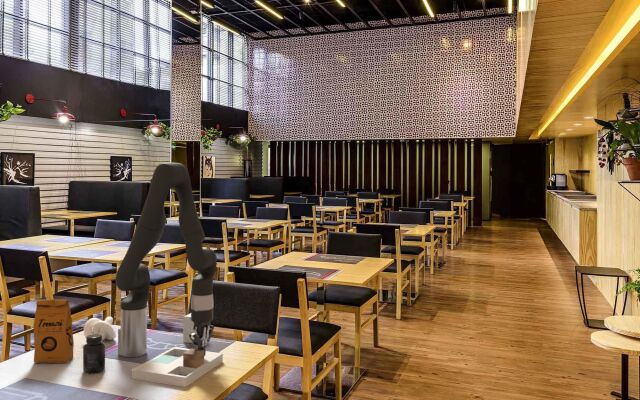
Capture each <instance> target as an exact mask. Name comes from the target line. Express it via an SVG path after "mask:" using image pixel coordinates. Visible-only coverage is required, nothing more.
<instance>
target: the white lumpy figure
mask: <svg viewBox="0 0 640 400" xmlns="http://www.w3.org/2000/svg"><path fill="white" fill-rule="evenodd" d="M113 321H114V319H113V317H112V316H107V317H105V319H104V320H101V319H99V318H97V317H92V318H90V319H88V320H87V321H86V322H85V323H84V326H83V335H84V338H85V339H86V337H87V336H88V335H92V334H101V335H102V341H104V340H105V339H106V340H107V341H114V340H115V339H116V336H117V334H116V331H115V329H114V327H113V326H112V324H113Z"/></svg>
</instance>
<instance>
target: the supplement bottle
mask: <svg viewBox="0 0 640 400" xmlns="http://www.w3.org/2000/svg"><path fill="white" fill-rule="evenodd" d="M85 339H86V341H85V342H86V344H84V345H83V348H82V371H83V374H86V375H96V374H100V373H102V372H104V371H105V369H106V344H105V343H104V342H102V341H103V340H102V335H101V334H92V335H88V336H87V337H86V338H85Z"/></svg>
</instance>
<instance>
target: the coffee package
mask: <svg viewBox="0 0 640 400" xmlns="http://www.w3.org/2000/svg"><path fill="white" fill-rule="evenodd" d="M35 304H36V306H35V312H34V315H35V316H34V321H33V341H34V342H33V346H34V353H33V363H39V364H40V363H46V364H47V363H48V364H60V363H61V364H67V363H68V362H70V361H71V360H73V359H74V347H75V345H74V343H75V342H74V335H73V334H74V332H73V318H72V314H71V313H72V312H71V306H70V302H69V299H36V303H35Z"/></svg>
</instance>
